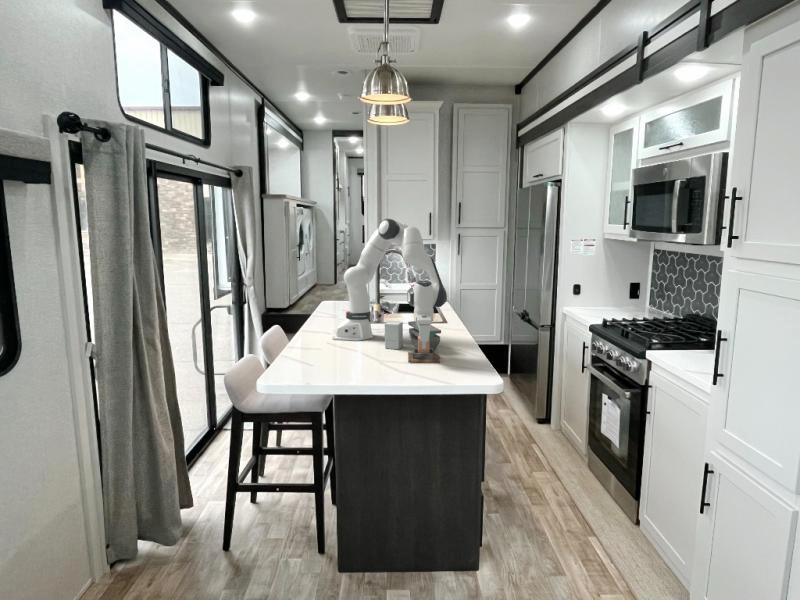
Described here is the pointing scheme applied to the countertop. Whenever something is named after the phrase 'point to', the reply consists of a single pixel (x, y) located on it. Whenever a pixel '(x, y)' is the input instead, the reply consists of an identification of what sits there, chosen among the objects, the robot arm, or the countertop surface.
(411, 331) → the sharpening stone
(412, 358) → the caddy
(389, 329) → the supplement box
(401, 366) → the countertop surface
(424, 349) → the block
